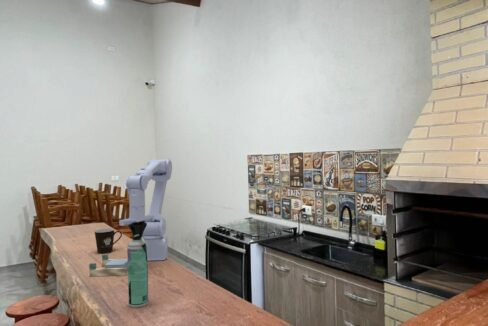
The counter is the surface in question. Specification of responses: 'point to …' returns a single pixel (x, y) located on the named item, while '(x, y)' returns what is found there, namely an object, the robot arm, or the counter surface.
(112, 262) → the block
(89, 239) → the counter surface
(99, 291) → the counter surface
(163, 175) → the robot arm
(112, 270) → the channel
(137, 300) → the spray can
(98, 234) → the coffee mug
